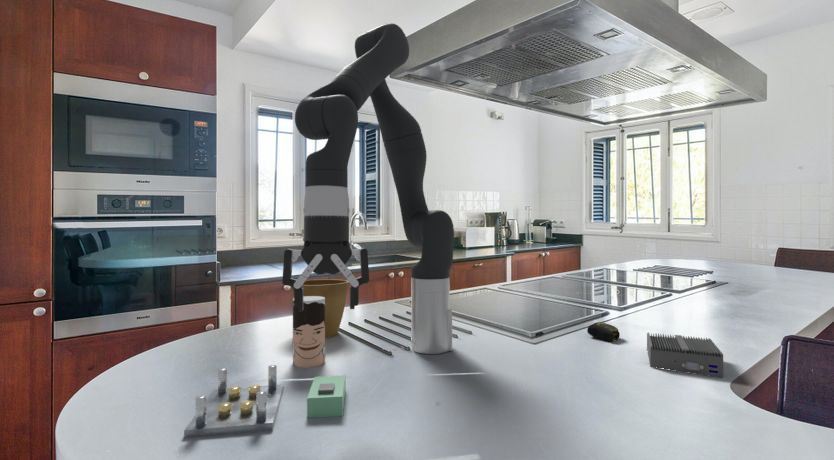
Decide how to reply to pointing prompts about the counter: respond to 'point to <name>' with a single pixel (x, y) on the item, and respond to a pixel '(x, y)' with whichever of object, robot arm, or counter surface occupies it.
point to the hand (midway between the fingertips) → (326, 309)
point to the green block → (326, 396)
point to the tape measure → (603, 331)
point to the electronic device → (685, 354)
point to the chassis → (236, 408)
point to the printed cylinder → (309, 332)
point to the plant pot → (329, 300)
